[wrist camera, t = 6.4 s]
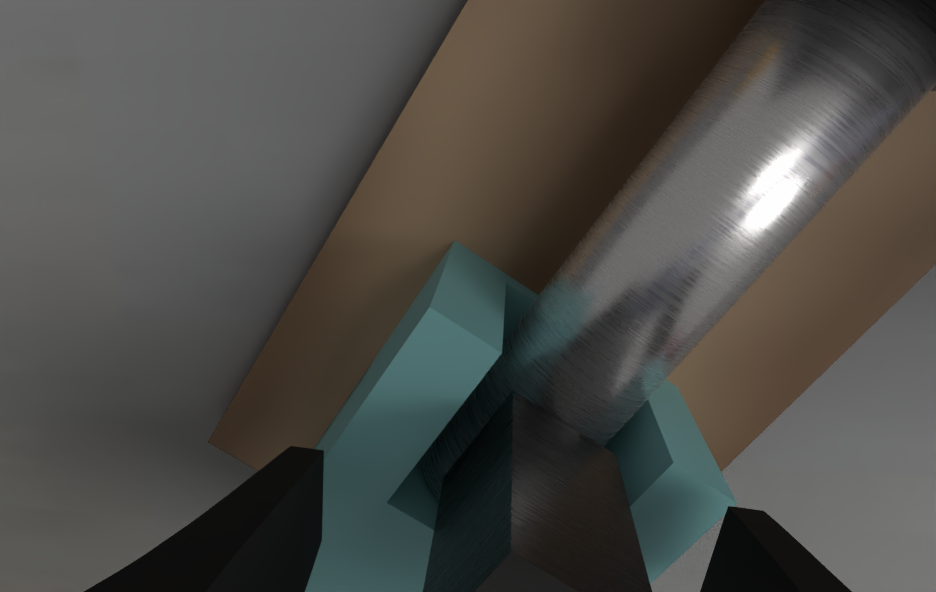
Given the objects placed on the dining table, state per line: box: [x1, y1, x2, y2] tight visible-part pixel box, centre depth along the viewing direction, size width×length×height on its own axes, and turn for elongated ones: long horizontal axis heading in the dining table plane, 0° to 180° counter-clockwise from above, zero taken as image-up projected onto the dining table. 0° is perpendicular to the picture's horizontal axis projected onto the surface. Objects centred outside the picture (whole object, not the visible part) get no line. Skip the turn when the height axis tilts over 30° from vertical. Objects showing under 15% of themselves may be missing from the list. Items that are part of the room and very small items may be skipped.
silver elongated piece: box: [421, 0, 936, 592], centre depth 9 cm, size 3×14×7 cm, turn 146°
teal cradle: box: [305, 241, 737, 592], centre depth 14 cm, size 7×8×4 cm
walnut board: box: [208, 0, 936, 471], centre depth 13 cm, size 12×31×1 cm, turn 147°
